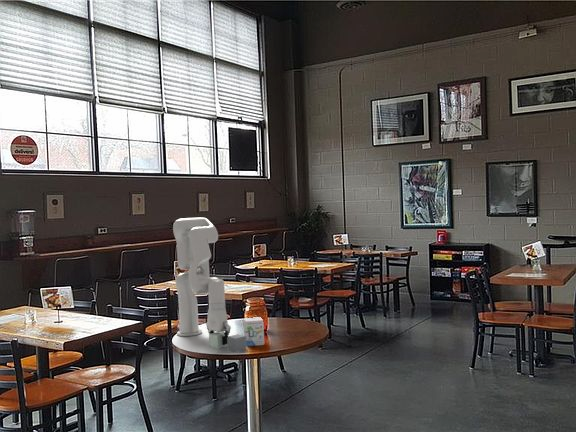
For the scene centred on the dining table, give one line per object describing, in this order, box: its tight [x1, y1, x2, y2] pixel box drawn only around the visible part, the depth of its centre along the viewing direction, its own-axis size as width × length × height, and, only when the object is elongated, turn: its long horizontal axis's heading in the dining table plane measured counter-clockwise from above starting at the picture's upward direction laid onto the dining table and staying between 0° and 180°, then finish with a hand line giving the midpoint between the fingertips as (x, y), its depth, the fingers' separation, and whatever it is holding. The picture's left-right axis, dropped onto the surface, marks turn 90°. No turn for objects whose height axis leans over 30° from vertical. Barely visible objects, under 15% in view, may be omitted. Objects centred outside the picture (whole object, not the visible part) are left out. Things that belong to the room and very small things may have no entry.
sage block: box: [208, 331, 228, 349], centre depth 266 cm, size 6×6×6 cm
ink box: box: [243, 317, 265, 347], centre depth 268 cm, size 8×8×12 cm
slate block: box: [227, 333, 248, 353], centre depth 258 cm, size 6×6×6 cm
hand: (218, 342), depth 266 cm, fingers open, 9 cm apart
